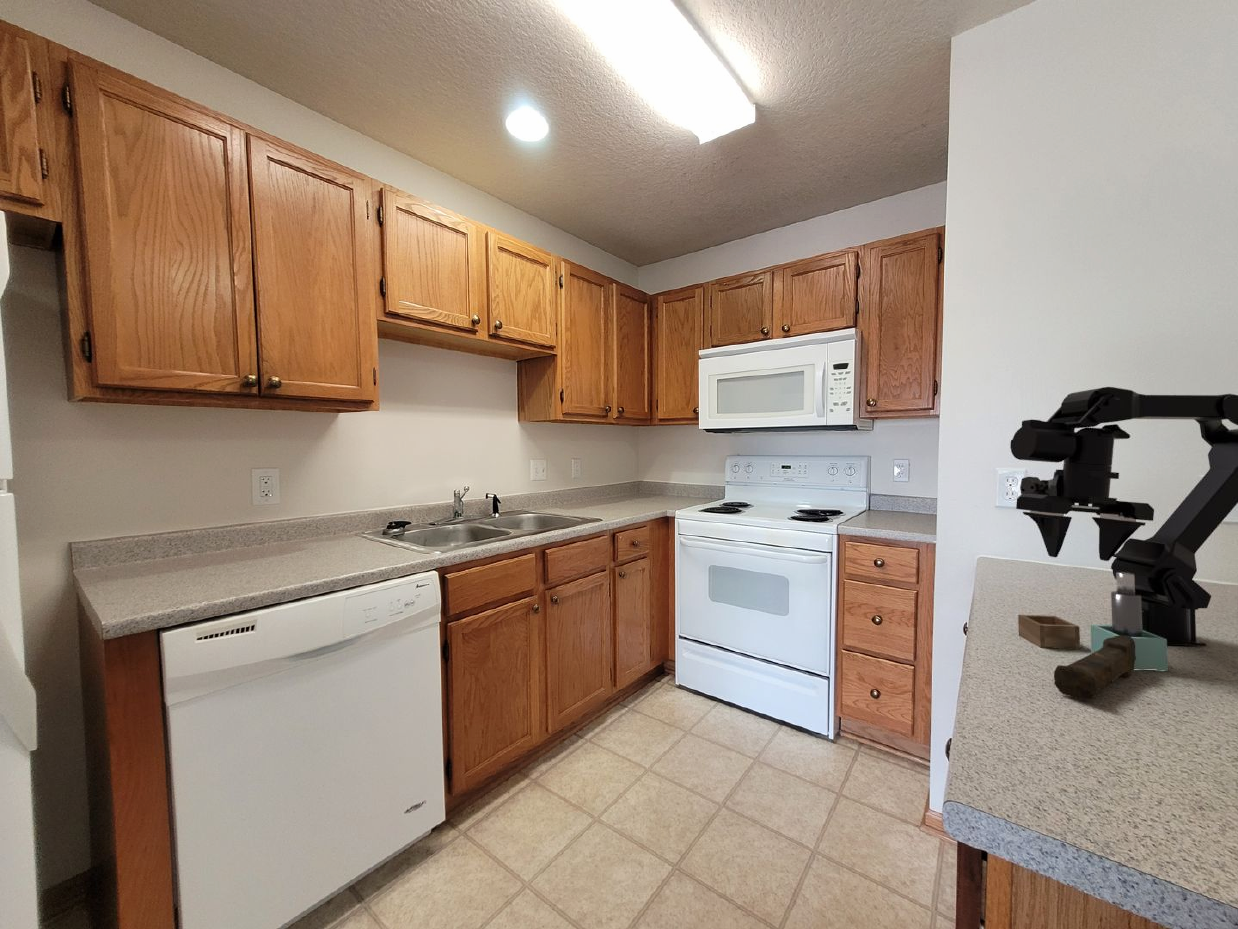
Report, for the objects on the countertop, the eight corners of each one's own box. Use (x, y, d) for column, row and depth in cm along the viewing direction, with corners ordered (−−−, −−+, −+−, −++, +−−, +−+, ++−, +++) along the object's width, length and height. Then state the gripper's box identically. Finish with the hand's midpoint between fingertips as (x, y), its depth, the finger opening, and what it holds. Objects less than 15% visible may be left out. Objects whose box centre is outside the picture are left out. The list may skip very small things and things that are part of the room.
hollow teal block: (1133, 656, 71) (1132, 626, 71) (1167, 671, 66) (1166, 639, 66) (1091, 654, 72) (1090, 624, 72) (1121, 669, 67) (1120, 637, 67)
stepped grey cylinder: (1120, 657, 71) (1117, 570, 71) (1148, 665, 68) (1145, 574, 68) (1108, 660, 70) (1105, 572, 70) (1135, 668, 67) (1132, 576, 67)
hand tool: (1094, 706, 57) (1093, 668, 57) (1052, 692, 61) (1052, 656, 61) (1160, 673, 65) (1159, 639, 65) (1119, 662, 69) (1119, 630, 69)
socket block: (1055, 636, 79) (1054, 615, 79) (1080, 649, 74) (1079, 626, 74) (1018, 635, 80) (1018, 614, 80) (1040, 647, 75) (1039, 625, 75)
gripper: (1087, 468, 87) (1080, 552, 87) (992, 460, 86) (984, 545, 86) (1161, 469, 76) (1152, 566, 76) (1052, 460, 75) (1044, 559, 75)
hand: (1078, 558), depth 78 cm, fingers open, 9 cm apart
